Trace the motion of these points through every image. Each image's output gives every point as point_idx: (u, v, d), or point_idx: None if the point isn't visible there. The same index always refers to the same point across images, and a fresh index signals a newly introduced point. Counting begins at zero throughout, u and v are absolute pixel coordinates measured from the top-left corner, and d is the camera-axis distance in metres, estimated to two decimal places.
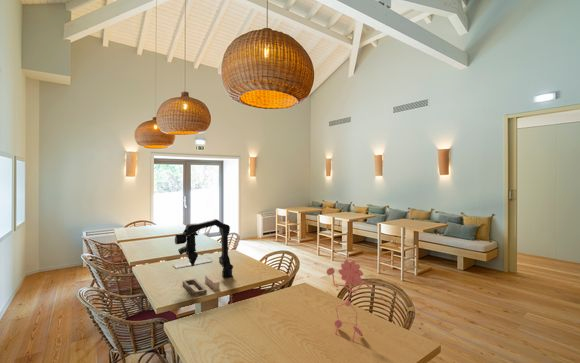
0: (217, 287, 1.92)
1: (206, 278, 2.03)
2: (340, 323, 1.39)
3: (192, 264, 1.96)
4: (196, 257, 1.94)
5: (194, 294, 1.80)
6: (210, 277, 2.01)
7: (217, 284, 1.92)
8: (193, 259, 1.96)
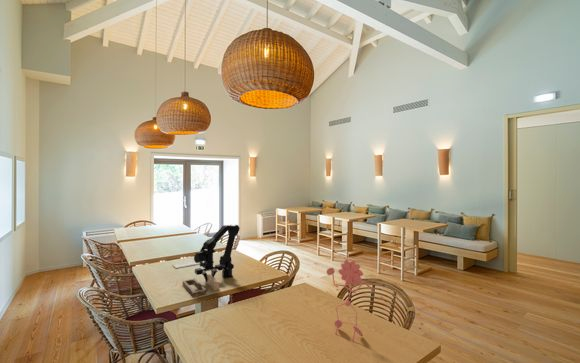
0: (217, 287, 1.91)
1: None
2: (340, 323, 1.39)
3: (205, 280, 2.02)
4: (202, 274, 1.98)
5: (194, 294, 1.80)
6: (210, 277, 2.01)
7: (217, 284, 1.91)
8: None
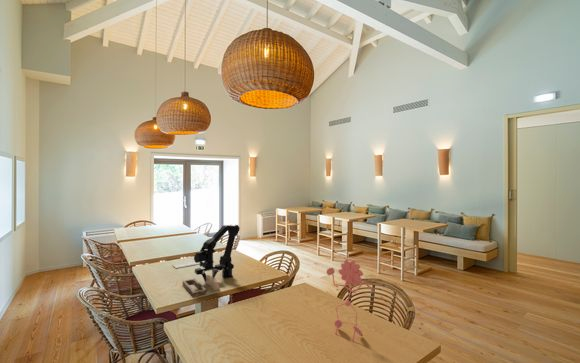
0: (217, 287, 1.92)
1: (206, 278, 2.03)
2: (340, 323, 1.39)
3: (204, 280, 2.02)
4: (201, 274, 1.98)
5: (194, 294, 1.80)
6: (210, 277, 2.01)
7: (217, 284, 1.92)
8: None
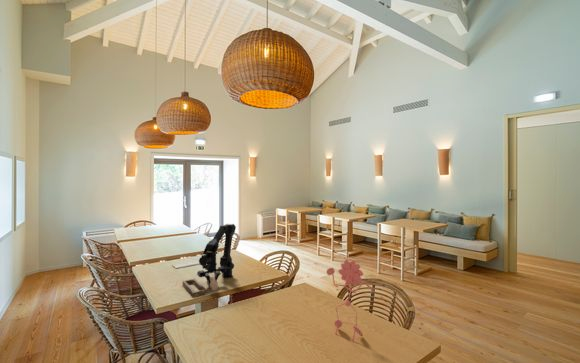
0: (215, 287, 1.91)
1: None
2: (340, 323, 1.39)
3: (208, 282, 1.97)
4: (205, 276, 1.93)
5: (194, 294, 1.80)
6: (211, 277, 2.01)
7: (215, 284, 1.91)
8: None
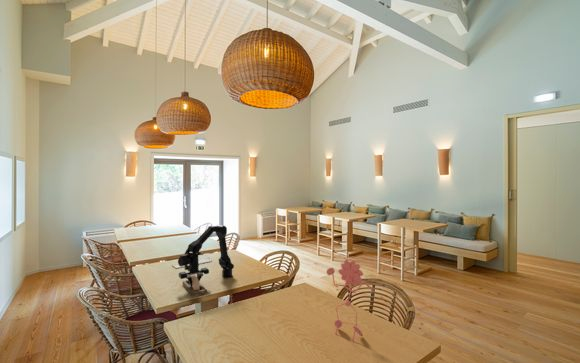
0: (197, 287, 1.85)
1: None
2: (340, 323, 1.39)
3: (190, 284, 1.91)
4: (186, 278, 1.87)
5: (194, 294, 1.80)
6: (193, 276, 1.95)
7: (197, 284, 1.85)
8: (189, 279, 1.90)
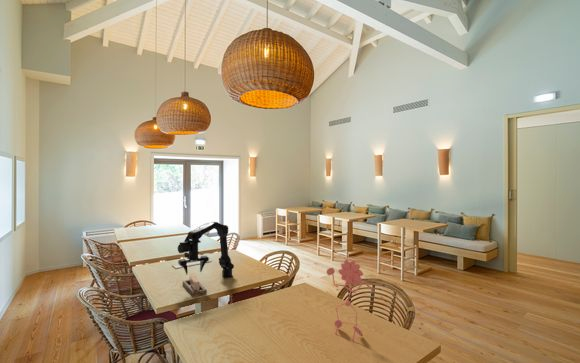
0: (197, 287, 1.85)
1: (189, 277, 1.97)
2: (340, 323, 1.39)
3: None
4: (182, 266, 1.86)
5: (194, 294, 1.80)
6: (193, 276, 1.95)
7: (197, 284, 1.85)
8: None
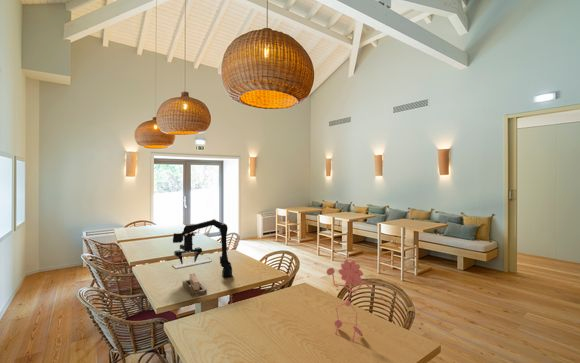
0: (197, 287, 1.85)
1: (189, 277, 1.97)
2: (340, 323, 1.39)
3: (181, 262, 2.07)
4: (177, 256, 2.03)
5: (194, 294, 1.80)
6: (193, 276, 1.95)
7: (197, 284, 1.85)
8: None
